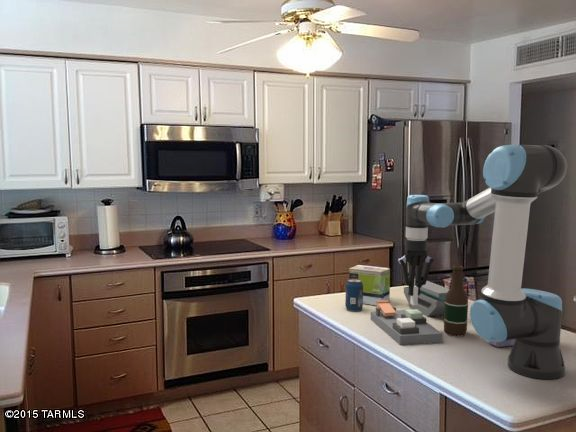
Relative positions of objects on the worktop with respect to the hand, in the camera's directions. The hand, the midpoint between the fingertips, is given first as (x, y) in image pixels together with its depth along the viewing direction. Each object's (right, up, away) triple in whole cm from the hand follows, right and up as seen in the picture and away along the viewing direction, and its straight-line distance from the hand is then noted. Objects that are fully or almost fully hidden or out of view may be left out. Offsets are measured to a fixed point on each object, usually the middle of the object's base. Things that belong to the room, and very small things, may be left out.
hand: (413, 304), depth 189 cm
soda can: (-18, -7, +26) cm, 32 cm away
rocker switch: (-9, -3, +8) cm, 12 cm away
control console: (-3, -9, 0) cm, 10 cm away
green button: (0, -5, 0) cm, 5 cm away
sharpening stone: (+11, -7, +23) cm, 27 cm away
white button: (-5, -6, -10) cm, 12 cm away
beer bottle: (+14, -10, -2) cm, 17 cm away
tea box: (-10, -5, +37) cm, 39 cm away
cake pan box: (+31, -11, -12) cm, 35 cm away
